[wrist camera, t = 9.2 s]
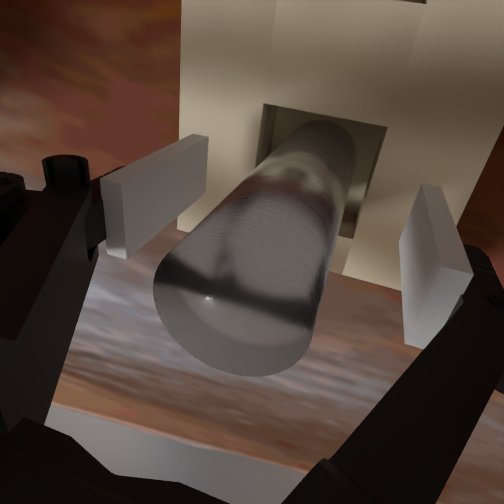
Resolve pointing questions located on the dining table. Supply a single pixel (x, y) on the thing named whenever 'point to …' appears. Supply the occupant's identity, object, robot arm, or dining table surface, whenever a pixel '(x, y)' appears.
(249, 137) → the socket block
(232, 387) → the dining table surface
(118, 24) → the dining table surface
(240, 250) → the steel pin
